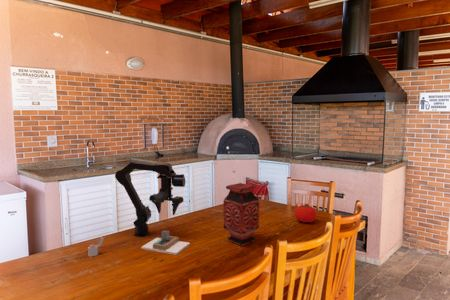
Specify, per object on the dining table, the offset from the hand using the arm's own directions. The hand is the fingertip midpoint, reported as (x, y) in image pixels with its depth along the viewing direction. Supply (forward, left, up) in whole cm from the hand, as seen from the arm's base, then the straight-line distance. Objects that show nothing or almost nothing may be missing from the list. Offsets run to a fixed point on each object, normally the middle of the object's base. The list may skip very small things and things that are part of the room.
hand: (166, 213), depth 188 cm
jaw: (+5, -14, -11) cm, 18 cm away
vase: (+41, +8, -13) cm, 44 cm away
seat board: (+8, -14, -12) cm, 20 cm away
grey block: (+8, -14, -12) cm, 19 cm away
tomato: (+68, +54, -13) cm, 88 cm away
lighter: (-18, -35, -13) cm, 41 cm away
